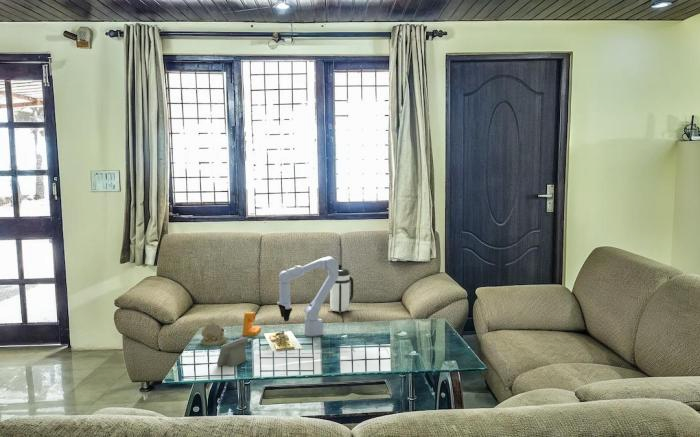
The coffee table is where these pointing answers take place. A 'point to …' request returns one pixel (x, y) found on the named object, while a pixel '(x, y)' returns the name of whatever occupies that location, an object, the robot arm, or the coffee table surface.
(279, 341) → the fixed leaf
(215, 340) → the ceramic model
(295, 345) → the board
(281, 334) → the pin
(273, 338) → the loose leaf
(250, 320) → the bracket
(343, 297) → the coffee press
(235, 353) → the digital clock
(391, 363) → the coffee table surface
